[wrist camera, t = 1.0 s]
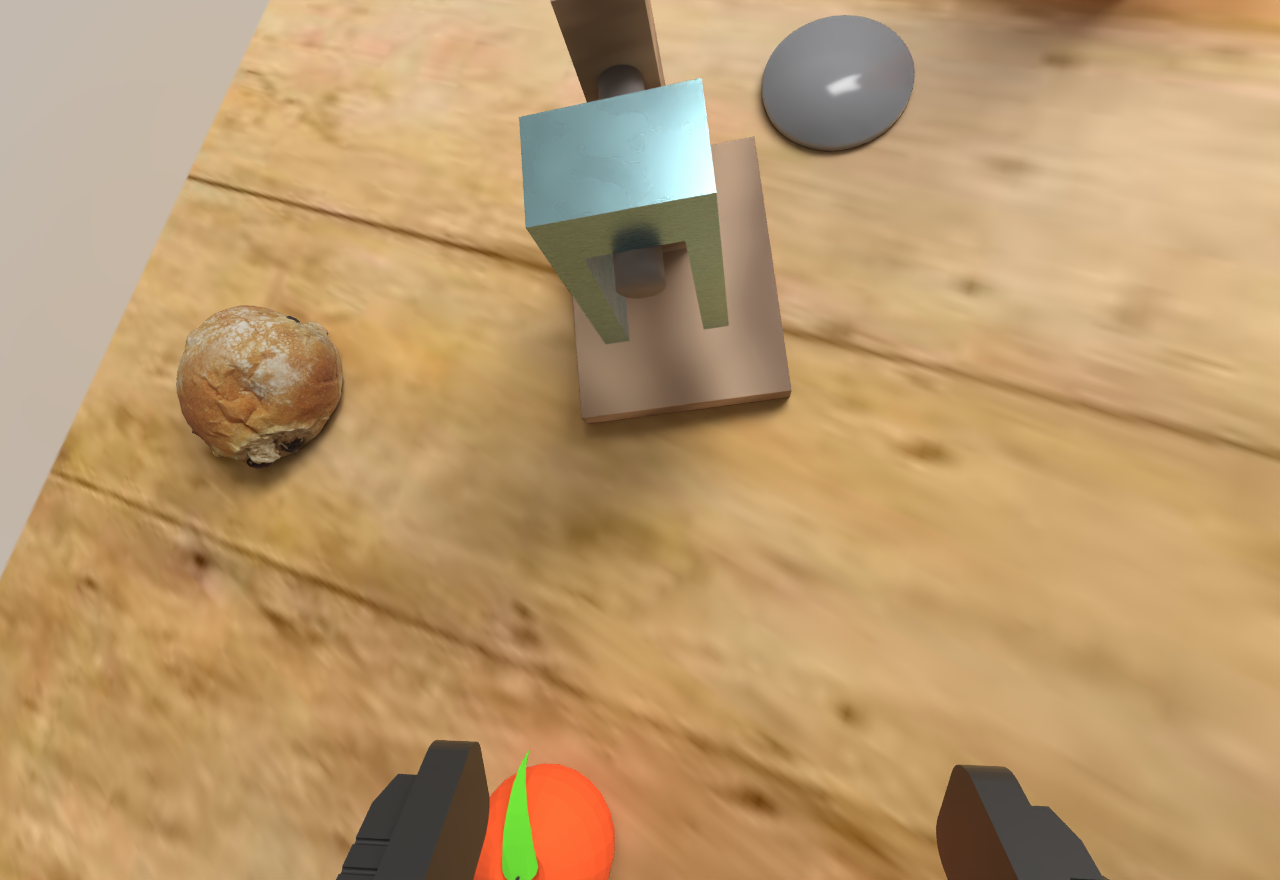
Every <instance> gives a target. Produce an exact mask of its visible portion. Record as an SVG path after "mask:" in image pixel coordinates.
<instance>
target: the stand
mask: <svg viewBox="0 0 1280 880" xmlns="http://www.w3.org/2000/svg"><path fill="white" fill-rule="evenodd" d="M551 4H552V7H553V9H554V12H555V15H556V18H557V20H558V23H559V26H560V29H561V32H562V34H563V37H564V40H565V43H566V45H567V48H568V51H569V54H570V56H571V59H572V62H573V65H574V68H575V70H576V73H577V76H578V79H579V81H580V84H581V87H582V90H583V92H584V95H585V98H586V101H587V103H588V102H592V101H597V100H602V99H606V98H611V97H616V96H620V95H625V94H630V93H634V92H639V91H644V90H648V89H653V88H658V87H662V86H665V80H664V75H663V69H662V64H661V58H660V53H659V47H658V42H657V36H656V30H655V25H654V19H653V14H652V8H651V3H650V0H551ZM710 146H711V154H712V162H713V170H714V177H715V185H716V193H717V203H718V214H719V225H720V236H721V246H722V257H723V268H724V278H725V289H726V300H727V310H728V321H729V326H725V327H718V328H712V329H705V330H704V329H703V324H702V319H701V314H700V309H699V305H698V300H697V295H696V290H695V285H694V280H693V276H692V271H691V266H690V261H689V256H688V251H687V247H686V242H685V241H682V242H676V243H671V244H665V245H659V246H653V247H648V248H642V249H636V250H630V251H625V252H619V253H613V263H614V274H615V286H616V292H617V293H618V294H619V295H621V296H623V297H626V305H627V316H628V327H629V338H630V341H626V342H619V343H612V344H605V343H604V341H603V340H602V338H601V337H600V335H599V334H598V332H597V331H596V330H595V328H594V327H593V325H592V324H591V322H590V321H589V319H588V318H587V316H586V315H585V313H584V312H583V311H582V309H581V308H580V306H579V305H578V303H577V302H576V300H575V299H574V297H573V308H574V322H575V335H576V348H577V362H578V375H579V389H580V402H581V416H582V419H583V420H585V421H586V422H587V423H588V424H589V423H596V422H604V421H611V420H619V419H627V418H634V417H642V416H650V415H657V414H665V413H672V412H680V411H688V410H695V409H703V408H710V407H718V406H726V405H733V404H741V403H748V402H756V401H764V400H771V399H779V398H786V397H790V394H791V384H790V377H789V370H788V363H787V357H786V350H785V343H784V336H783V329H782V322H781V316H780V309H779V302H778V295H777V288H776V282H775V275H774V268H773V261H772V254H771V247H770V241H769V234H768V227H767V220H766V213H765V207H764V200H763V193H762V186H761V179H760V172H759V166H758V159H757V152H756V145H755V138H754V137H749V138H744V139H739V140H734V141H729V142H724V143H719V144H714V145H710Z"/></svg>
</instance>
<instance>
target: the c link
mask: <svg viewBox="0 0 1280 880" xmlns="http://www.w3.org/2000/svg"><path fill="white" fill-rule="evenodd" d="M519 121H520V138H521V155H522V172H523V189H524V206H525V223H526V229H527V230H528V232H529V233H530V235H531V236H532V238H533V239H534V240H535V242H536V243H537V245H538V246H539V248H540V249H541V251H542V252H543V254H544V255H545V257H546V258H547V259H548V261H549V262H550V264H551V265H552V267H553V268H554V270H555V271H556V273H557V274H558V276H559V277H560V278H561V280H562V281H563V283H564V284H565V286H566V287H567V289H568V290H569V292H570V293H571V294H572V296H573V297H574V299H575V300H576V302H577V303H578V305H579V306H580V308H581V309H582V311H583V312H584V313H585V315H586V316H587V318H588V319H589V321H590V322H591V324H592V325H593V327H594V328H595V330H596V331H597V332H598V334H599V335H600V337H601V338H602V340H603V341H604V343H605V344H612V343H619V342H626V341H630V338H629V327H628V316H627V305H626V297H623V296H621V295H619V294H618V293H617V292H616V286H615V274H614V263H613V253H619V252H625V251H630V250H636V249H642V248H648V247H653V246H659V245H665V244H671V243H676V242H682V241H685V242H686V247H687V251H688V256H689V261H690V266H691V271H692V276H693V280H694V285H695V290H696V295H697V300H698V305H699V309H700V314H701V319H702V324H703V329H704V330H705V329H712V328H718V327H725V326H729V321H728V310H727V300H726V289H725V278H724V268H723V257H722V246H721V236H720V225H719V214H718V203H717V193H716V185H715V177H714V170H713V162H712V154H711V146H710V139H709V131H708V123H707V116H706V108H705V100H704V93H703V85H702V78H700V79H695V80H690V81H686V82H681V83H676V84H672V85H667V86H662V87H658V88H653V89H648V90H644V91H639V92H634V93H630V94H625V95H620V96H616V97H611V98H606V99H602V100H597V101H592V102H588V103H583V104H579V105H574V106H569V107H565V108H560V109H555V110H551V111H546V112H541V113H537V114H532V115H527V116H523V117H519Z"/></svg>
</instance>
